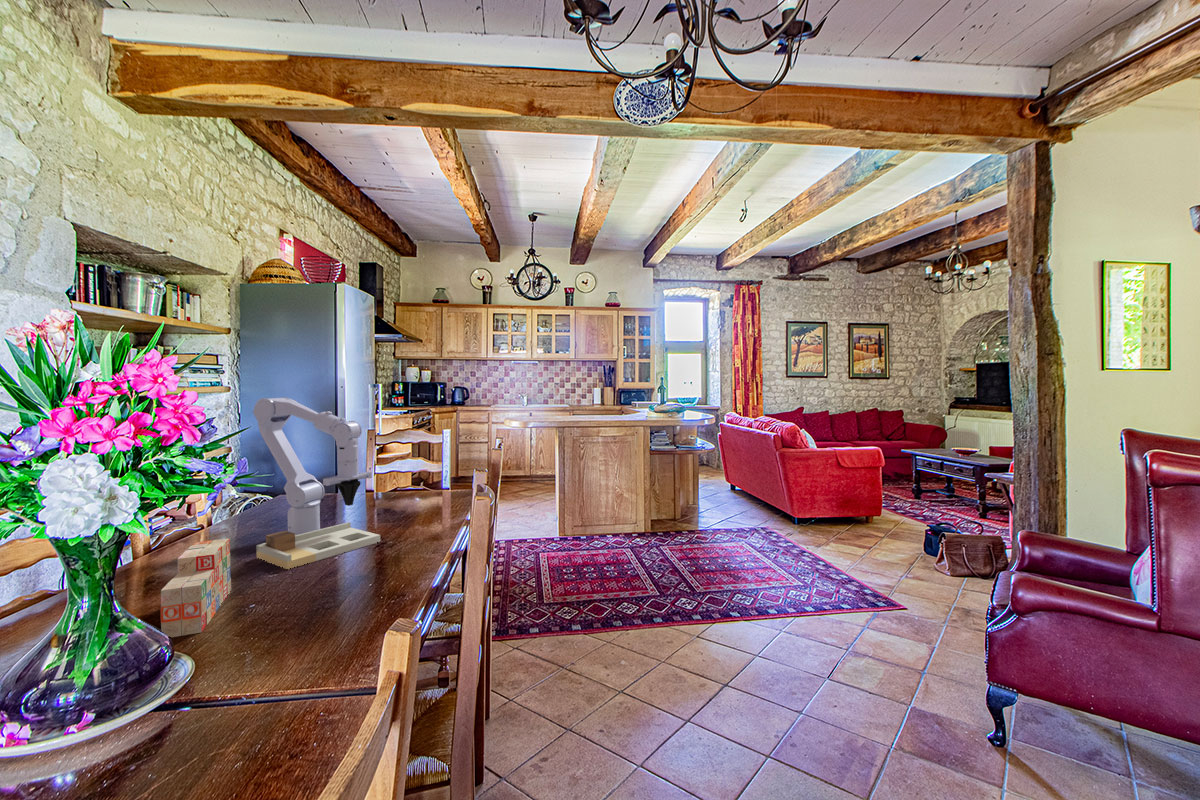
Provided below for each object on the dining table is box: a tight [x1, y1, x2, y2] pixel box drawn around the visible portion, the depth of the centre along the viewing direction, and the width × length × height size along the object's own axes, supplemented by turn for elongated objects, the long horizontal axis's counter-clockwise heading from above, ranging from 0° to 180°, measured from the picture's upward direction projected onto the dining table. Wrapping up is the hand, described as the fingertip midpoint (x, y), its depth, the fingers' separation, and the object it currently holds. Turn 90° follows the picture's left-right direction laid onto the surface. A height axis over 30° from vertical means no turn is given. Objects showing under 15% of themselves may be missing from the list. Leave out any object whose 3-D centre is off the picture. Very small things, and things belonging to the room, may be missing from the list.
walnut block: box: [265, 530, 295, 552], centre depth 137 cm, size 5×5×4 cm
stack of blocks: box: [159, 538, 232, 638], centre depth 103 cm, size 21×6×12 cm, turn 24°
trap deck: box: [255, 522, 381, 570], centre depth 142 cm, size 16×26×4 cm, turn 148°
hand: (348, 504), depth 155 cm, fingers closed
